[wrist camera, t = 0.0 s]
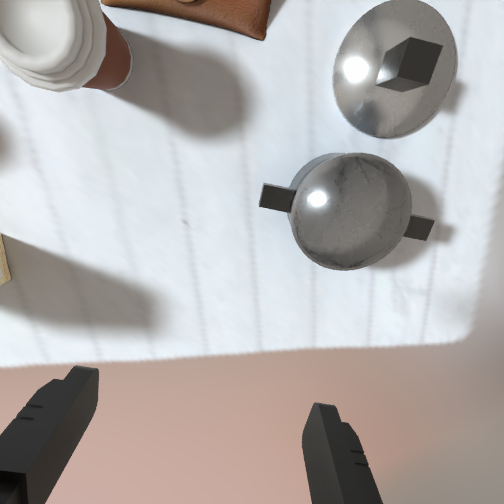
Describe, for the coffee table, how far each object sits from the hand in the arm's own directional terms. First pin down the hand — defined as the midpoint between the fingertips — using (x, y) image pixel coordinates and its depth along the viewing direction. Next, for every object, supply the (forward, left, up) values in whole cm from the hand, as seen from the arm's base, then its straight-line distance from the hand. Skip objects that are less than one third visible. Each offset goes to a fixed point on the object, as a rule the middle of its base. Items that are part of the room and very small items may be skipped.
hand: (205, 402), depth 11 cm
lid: (-19, +14, -30) cm, 38 cm away
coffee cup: (-14, -17, -30) cm, 37 cm away
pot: (-4, +12, -29) cm, 32 cm away
